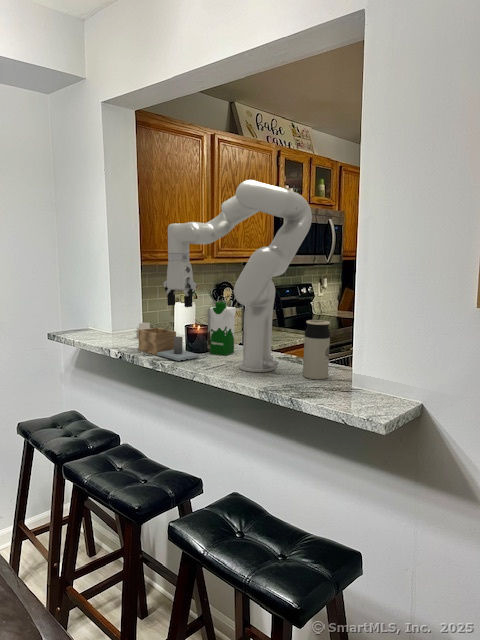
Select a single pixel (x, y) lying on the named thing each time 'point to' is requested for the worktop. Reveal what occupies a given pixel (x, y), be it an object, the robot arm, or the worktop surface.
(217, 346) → the milk carton
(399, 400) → the worktop surface
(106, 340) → the worktop surface
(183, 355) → the lid
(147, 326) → the architectural model
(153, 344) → the box
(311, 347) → the travel mug
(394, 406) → the worktop surface
